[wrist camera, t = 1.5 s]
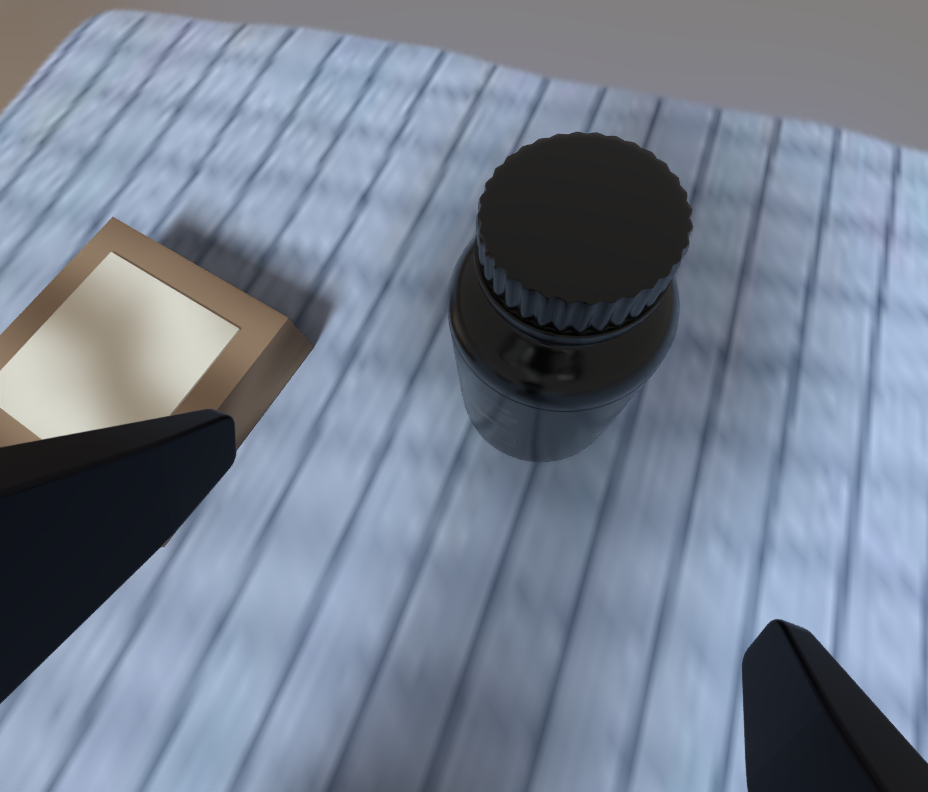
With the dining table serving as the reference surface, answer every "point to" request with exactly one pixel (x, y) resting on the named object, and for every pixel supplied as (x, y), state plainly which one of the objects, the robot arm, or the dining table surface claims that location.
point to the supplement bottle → (566, 291)
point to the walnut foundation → (140, 345)
